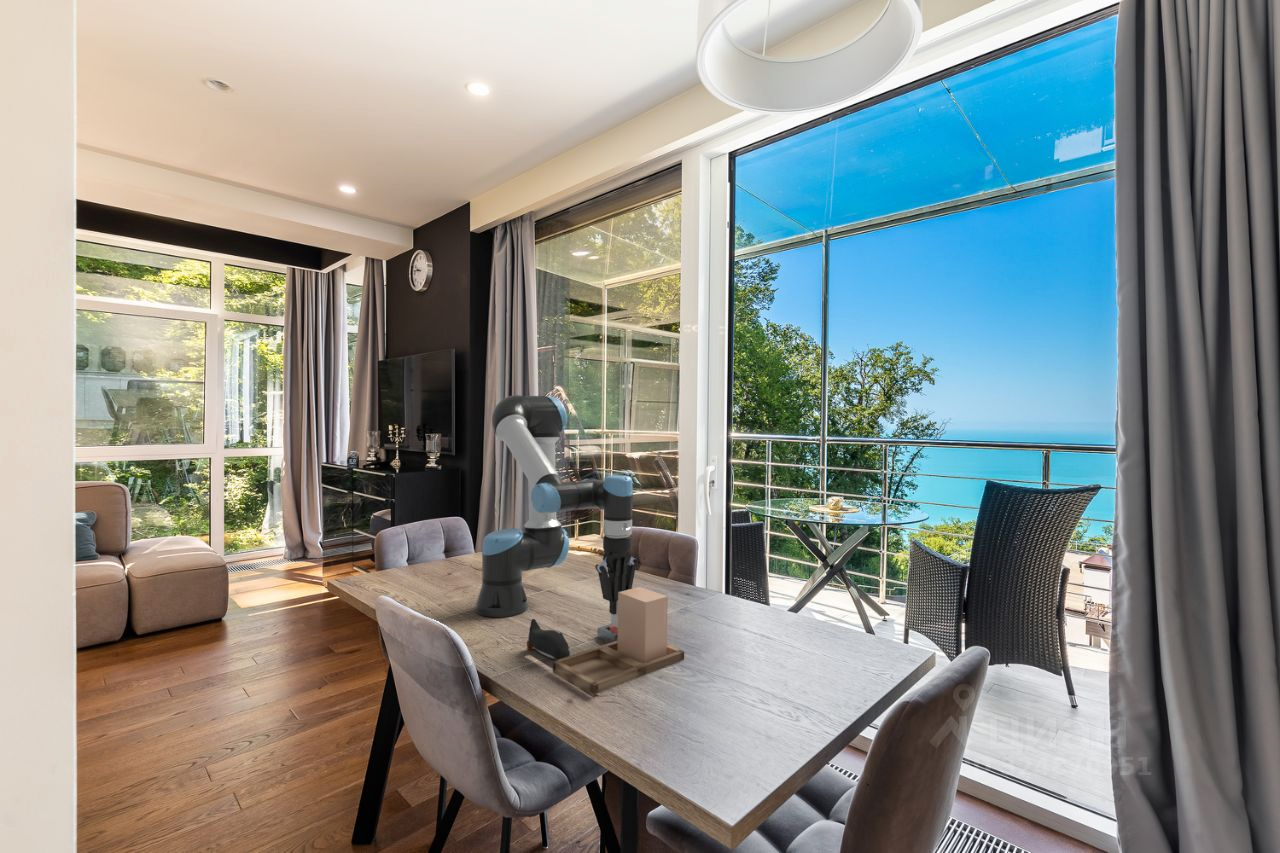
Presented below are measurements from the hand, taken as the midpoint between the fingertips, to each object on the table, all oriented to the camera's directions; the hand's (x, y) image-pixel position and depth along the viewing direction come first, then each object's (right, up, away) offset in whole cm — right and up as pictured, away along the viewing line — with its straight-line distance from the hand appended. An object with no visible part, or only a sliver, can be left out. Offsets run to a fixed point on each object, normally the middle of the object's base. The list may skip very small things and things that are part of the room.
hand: (616, 625), depth 151 cm
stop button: (0, -4, 0) cm, 4 cm away
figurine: (-16, -4, -11) cm, 20 cm away
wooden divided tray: (+1, -4, -16) cm, 17 cm away
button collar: (0, -4, 0) cm, 4 cm away
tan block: (+7, -4, -11) cm, 14 cm away
